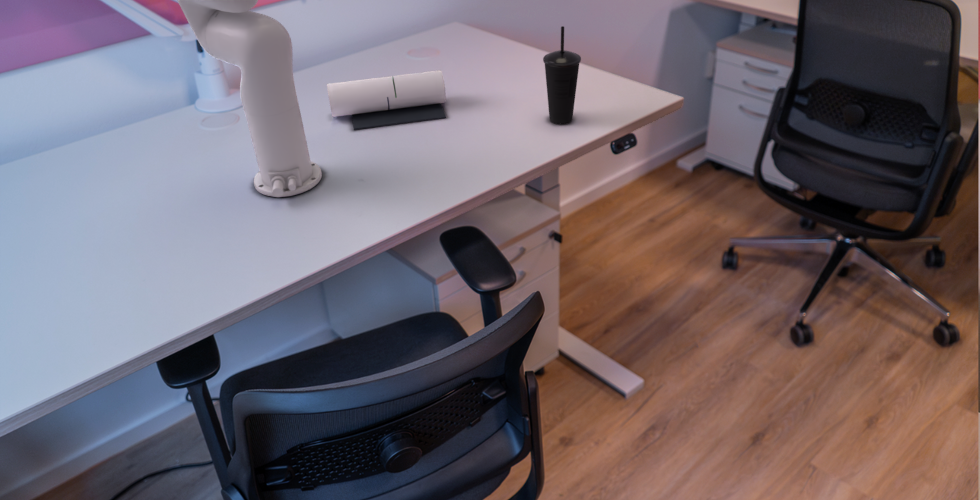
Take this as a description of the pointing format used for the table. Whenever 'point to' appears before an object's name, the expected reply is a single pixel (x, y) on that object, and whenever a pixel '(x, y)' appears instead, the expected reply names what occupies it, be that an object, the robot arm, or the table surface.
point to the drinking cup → (561, 83)
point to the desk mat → (398, 116)
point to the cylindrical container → (386, 93)
